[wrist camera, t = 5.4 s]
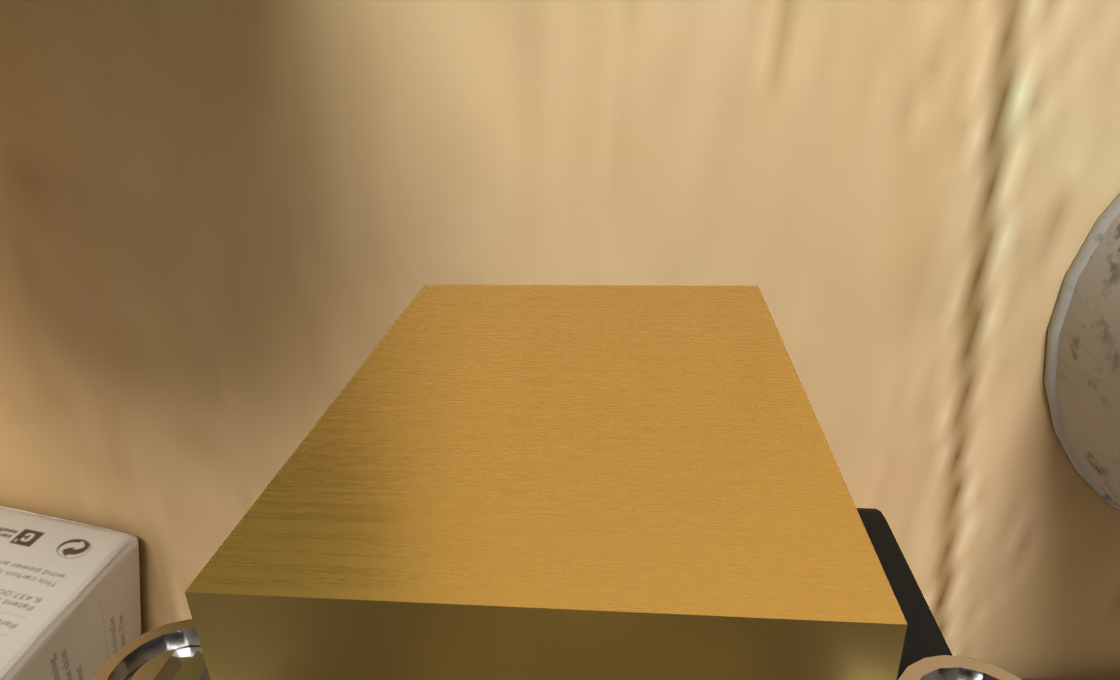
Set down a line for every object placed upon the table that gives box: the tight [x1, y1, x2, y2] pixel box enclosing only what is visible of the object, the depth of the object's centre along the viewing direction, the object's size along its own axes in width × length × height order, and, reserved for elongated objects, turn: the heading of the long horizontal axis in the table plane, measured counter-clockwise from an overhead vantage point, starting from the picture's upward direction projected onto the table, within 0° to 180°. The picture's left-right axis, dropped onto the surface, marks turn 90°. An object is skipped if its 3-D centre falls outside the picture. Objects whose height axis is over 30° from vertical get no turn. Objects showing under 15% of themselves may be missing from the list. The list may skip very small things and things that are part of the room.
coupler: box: [185, 285, 908, 680], centre depth 8 cm, size 6×4×7 cm
